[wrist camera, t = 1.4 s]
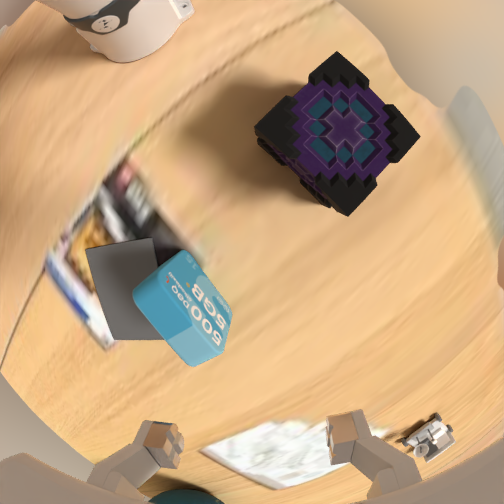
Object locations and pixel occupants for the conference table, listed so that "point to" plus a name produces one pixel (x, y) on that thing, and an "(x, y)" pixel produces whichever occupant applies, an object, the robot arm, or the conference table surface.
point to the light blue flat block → (185, 309)
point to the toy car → (430, 439)
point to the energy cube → (336, 135)
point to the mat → (123, 286)
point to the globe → (184, 497)
